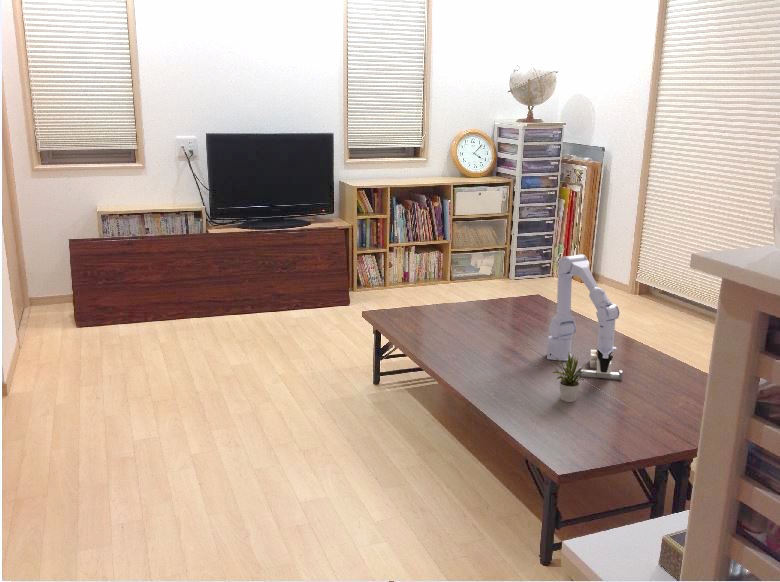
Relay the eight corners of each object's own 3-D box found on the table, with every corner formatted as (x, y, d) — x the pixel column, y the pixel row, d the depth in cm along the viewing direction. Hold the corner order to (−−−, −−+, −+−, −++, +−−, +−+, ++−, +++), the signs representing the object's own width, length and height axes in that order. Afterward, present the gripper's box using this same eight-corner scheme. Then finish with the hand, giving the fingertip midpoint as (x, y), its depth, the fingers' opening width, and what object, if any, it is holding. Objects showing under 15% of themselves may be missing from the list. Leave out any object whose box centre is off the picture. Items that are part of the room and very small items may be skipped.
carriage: (596, 377, 269) (597, 363, 268) (596, 373, 273) (597, 359, 272) (610, 378, 268) (611, 364, 267) (609, 374, 272) (610, 360, 270)
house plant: (543, 389, 260) (545, 347, 255) (581, 389, 259) (583, 347, 255) (550, 405, 246) (552, 361, 242) (590, 406, 245) (593, 362, 241)
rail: (578, 376, 272) (578, 369, 271) (578, 373, 274) (578, 366, 274) (621, 380, 268) (622, 372, 267) (621, 377, 270) (622, 370, 270)
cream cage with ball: (590, 367, 280) (590, 355, 279) (589, 361, 287) (590, 349, 286) (608, 369, 279) (609, 357, 277) (607, 362, 286) (608, 350, 284)
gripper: (618, 343, 259) (615, 377, 262) (616, 330, 272) (613, 364, 276) (598, 341, 260) (595, 376, 264) (597, 329, 274) (594, 362, 277)
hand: (603, 369), depth 270 cm, fingers closed on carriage, 4 cm apart
